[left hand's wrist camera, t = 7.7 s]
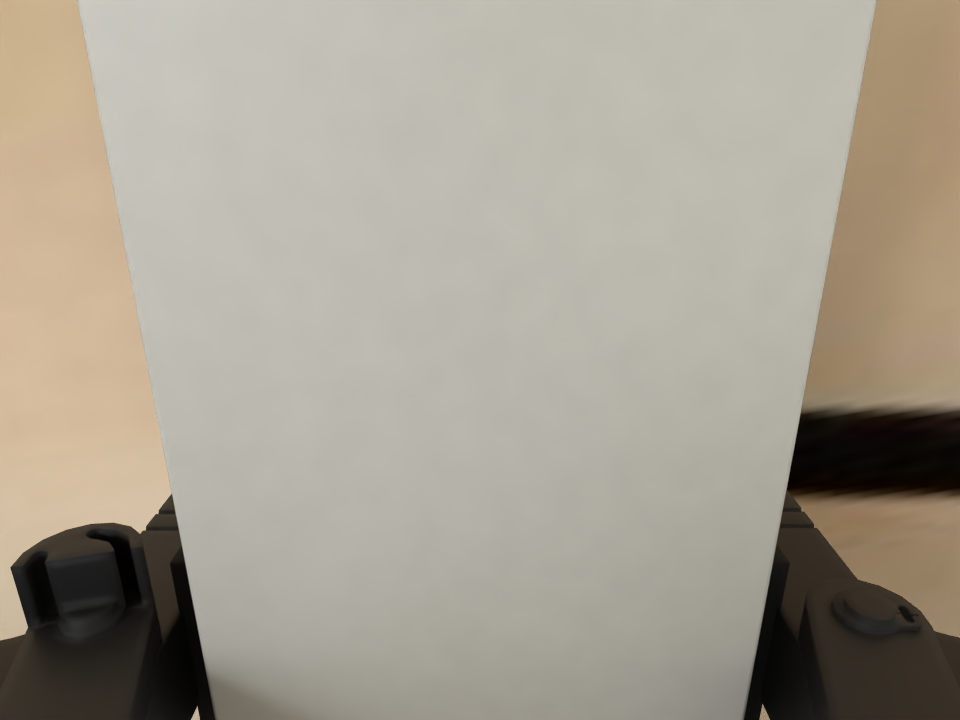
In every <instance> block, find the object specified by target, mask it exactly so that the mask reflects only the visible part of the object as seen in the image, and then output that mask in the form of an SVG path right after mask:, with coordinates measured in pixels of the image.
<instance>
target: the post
mask: <svg viewBox="0 0 960 720" xmlns="http://www.w3.org/2000/svg"><path fill="white" fill-rule="evenodd" d="M77 1H78V6H79V11H80V16H81V22H82V27H83V32H84V37H85V43H86V48H87V53H88V58H89V63H90V69H91V74H92V79H93V84H94V89H95V95H96V100H97V105H98V110H99V116H100V121H101V126H102V131H103V136H104V142H105V147H106V152H107V157H108V162H109V168H110V173H111V178H112V183H113V189H114V194H115V199H116V204H117V209H118V215H119V220H120V225H121V230H122V235H123V241H124V246H125V251H126V256H127V261H128V267H129V272H130V277H131V282H132V288H133V293H134V298H135V303H136V308H137V314H138V319H139V324H140V329H141V334H142V340H143V345H144V350H145V355H146V361H147V366H148V371H149V376H150V381H151V387H152V392H153V397H154V402H155V407H156V413H157V418H158V423H159V428H160V434H161V439H162V444H163V449H164V454H165V460H166V465H167V470H168V475H169V480H170V486H171V491H172V496H173V501H174V507H175V512H176V517H177V522H178V527H179V533H180V538H181V543H182V548H183V553H184V559H185V564H186V569H187V574H188V580H189V585H190V590H191V595H192V600H193V606H194V611H195V616H196V621H197V626H198V632H199V637H200V642H201V647H202V653H203V658H204V663H205V668H206V673H207V679H208V684H209V689H210V694H211V699H212V705H213V710H214V715H215V720H744V716H745V710H746V705H747V699H748V694H749V689H750V683H751V678H752V672H753V667H754V662H755V656H756V651H757V646H758V640H759V635H760V629H761V624H762V618H763V613H764V608H765V602H766V597H767V592H768V586H769V581H770V575H771V570H772V564H773V559H774V554H775V548H776V543H777V538H778V532H779V527H780V521H781V516H782V510H783V505H784V500H785V494H786V489H787V484H788V478H789V473H790V467H791V462H792V457H793V451H794V446H795V440H796V435H797V430H798V424H799V419H800V413H801V408H802V403H803V397H804V392H805V386H806V381H807V376H808V370H809V365H810V359H811V354H812V349H813V343H814V338H815V332H816V327H817V322H818V316H819V311H820V305H821V300H822V295H823V289H824V284H825V278H826V273H827V268H828V262H829V257H830V251H831V246H832V241H833V235H834V230H835V224H836V219H837V214H838V208H839V203H840V197H841V192H842V187H843V181H844V176H845V170H846V165H847V160H848V154H849V149H850V143H851V138H852V133H853V127H854V122H855V116H856V111H857V106H858V100H859V95H860V89H861V84H862V79H863V73H864V68H865V62H866V57H867V52H868V46H869V41H870V35H871V30H872V25H873V19H874V14H875V8H876V3H877V0H77Z"/></svg>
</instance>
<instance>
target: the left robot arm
mask: <svg viewBox="0 0 960 720" xmlns="http://www.w3.org/2000/svg"><path fill="white" fill-rule="evenodd" d="M11 571H12V574H13V578H14V581H15V584H16V588H17V591H18V594H19V598H20V601H21V604H22V608H23V611H24V614H25V618H26V621H27V625H28V629H27V631H26V634H25V635H21V636H18V637H14V638H11V639H6V640H1V641H0V720H191V718H192V716H193V714H194V712H195V710H196V708H197V705H198V711H199V716H200V720H215V715H214V710H213V705H212V699H211V694H210V689H209V684H208V679H207V673H206V668H205V663H204V658H203V653H202V647H201V642H200V637H199V632H198V626H197V621H196V616H195V611H194V606H193V600H192V595H191V590H190V585H189V580H188V574H187V569H186V564H185V559H184V553H183V548H182V543H181V538H180V533H179V527H178V522H177V517H176V512H175V507H174V501H173V496H172V494H171V496H170V497H169V498H168V499H167V501H166V502H165V503H164V504H163V506H162V507H161V508H160V510H159V514H156V515H155V516H154V517H153V518H152V520H151V521H150V522H149V524H148V525H147V526H146V531H142V533H141V534H139V533H138V532H137V531H136V530H134V529H133V528H132V527H130V526H126V525H121V524H117V523H101V524H89V525H85V526H81V527H77V528H72V529H68V530H65V531H63V532H60V533H58V534H56V535H53V536H51V537H49V538H46V539H44V540H42V541H40V542H39V543H37V544H36V545H34V546H33V547H31V548H30V549H28V550H27V551H25V552H24V553H23V554H22V555H21V556H20V557H19V558H18V559H17V561H16V562H15V563H14V564H13V565H12V566H11ZM762 703H763V705H764V707H765V709H766V712H767V714H768V716H769V718H770V720H960V638H959V637H954V636H949V635H946V634H942V633H939V632H935V631H934V630H933V628H932V626H931V625H930V623H929V622H928V621H927V619H926V618H925V617H924V615H923V614H922V612H921V611H920V610H919V609H917V608H916V607H915V606H913V605H912V604H911V603H909V602H908V601H907V600H905V599H904V598H903V597H901V596H899V595H897V594H895V593H893V592H891V591H889V590H887V589H885V588H883V587H881V586H878V585H875V584H871V583H867V582H864V581H860V580H857V578H856V577H855V576H854V574H853V573H852V572H851V571H850V569H849V568H848V567H847V566H846V564H845V563H844V562H843V561H842V559H841V558H840V557H839V555H838V554H837V553H836V552H835V550H834V549H833V548H832V547H831V545H830V544H829V543H828V541H827V540H826V539H825V538H824V536H823V535H822V534H821V533H820V531H819V530H818V529H817V528H814V524H813V522H812V521H811V520H810V519H809V517H808V516H807V515H806V514H805V512H801V507H800V506H799V505H798V503H797V502H796V501H795V500H794V498H793V497H792V496H791V495H790V493H789V492H788V491H787V490H786V494H785V500H784V505H783V510H782V516H781V521H780V527H779V532H778V538H777V543H776V548H775V554H774V559H773V564H772V570H771V575H770V581H769V586H768V592H767V597H766V602H765V608H764V613H763V618H762V624H761V629H760V635H759V640H758V646H757V651H756V656H755V662H754V667H753V672H752V678H751V683H750V689H749V694H748V699H747V705H746V710H745V716H744V720H759V718H760V713H761V708H762Z"/></svg>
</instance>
